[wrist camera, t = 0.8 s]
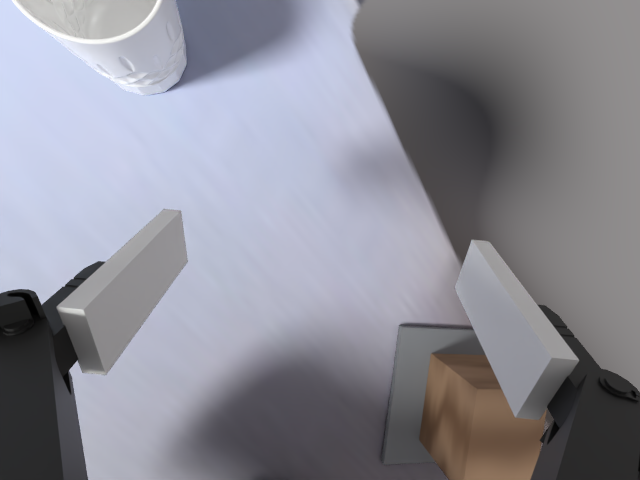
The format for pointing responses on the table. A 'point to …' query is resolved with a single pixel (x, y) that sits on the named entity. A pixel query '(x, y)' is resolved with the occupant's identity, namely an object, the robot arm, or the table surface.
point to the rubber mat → (417, 386)
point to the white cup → (118, 38)
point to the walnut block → (475, 423)
